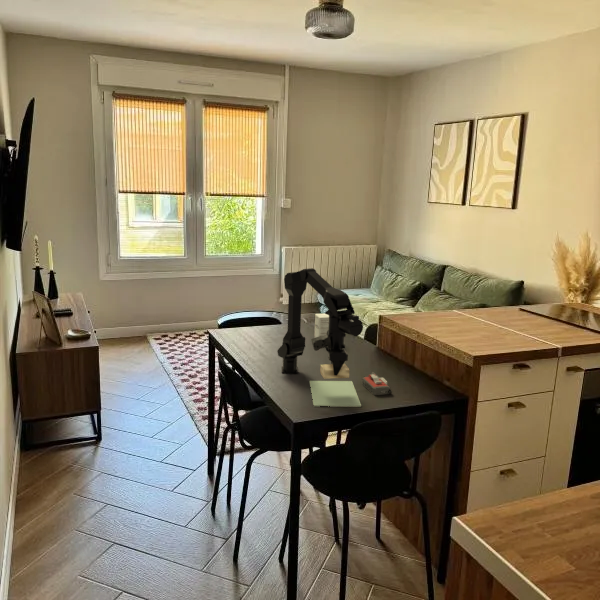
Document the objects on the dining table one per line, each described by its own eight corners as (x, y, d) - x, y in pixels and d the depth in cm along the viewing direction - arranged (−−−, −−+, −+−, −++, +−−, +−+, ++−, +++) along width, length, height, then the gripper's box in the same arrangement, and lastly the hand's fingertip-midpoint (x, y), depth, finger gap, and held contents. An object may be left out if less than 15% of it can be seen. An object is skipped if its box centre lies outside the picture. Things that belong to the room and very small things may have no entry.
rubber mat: (309, 382, 200) (309, 380, 200) (352, 382, 201) (352, 381, 201) (313, 406, 179) (313, 405, 179) (361, 406, 180) (361, 405, 179)
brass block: (344, 371, 192) (345, 363, 191) (349, 377, 186) (349, 369, 186) (320, 372, 191) (320, 364, 190) (323, 378, 185) (324, 370, 184)
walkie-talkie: (397, 395, 191) (374, 375, 210) (398, 383, 190) (375, 365, 209) (374, 397, 188) (353, 377, 207) (375, 385, 187) (354, 366, 206)
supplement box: (313, 339, 254) (314, 313, 251) (328, 338, 256) (329, 312, 253) (318, 344, 247) (319, 317, 244) (333, 343, 249) (334, 316, 246)
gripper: (311, 321, 193) (310, 362, 197) (315, 336, 175) (313, 381, 179) (342, 322, 194) (340, 363, 197) (349, 337, 176) (346, 381, 179)
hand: (334, 371), depth 188 cm, fingers closed on brass block, 6 cm apart
